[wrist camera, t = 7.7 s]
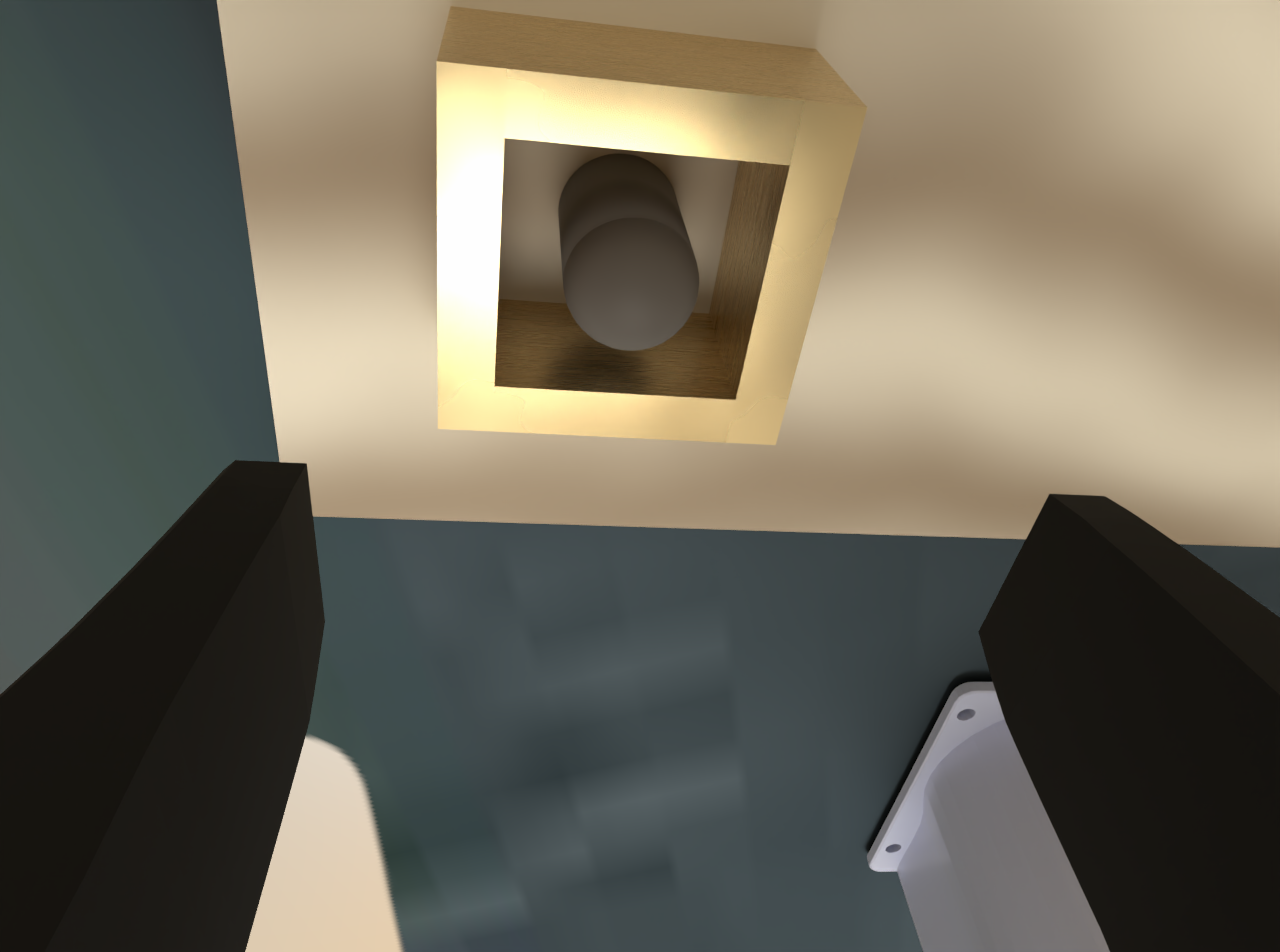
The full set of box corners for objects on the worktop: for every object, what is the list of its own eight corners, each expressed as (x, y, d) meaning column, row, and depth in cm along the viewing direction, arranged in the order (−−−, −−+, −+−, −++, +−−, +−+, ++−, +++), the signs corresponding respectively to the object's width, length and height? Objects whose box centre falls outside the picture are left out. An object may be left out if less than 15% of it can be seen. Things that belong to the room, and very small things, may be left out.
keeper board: (1431, 526, 24) (1583, 662, 21) (296, 484, 20) (248, 647, 16) (1972, -103, 16) (2388, -51, 12) (183, -417, 11) (31, -474, 8)
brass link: (745, 356, 18) (775, 445, 16) (448, 337, 17) (437, 428, 15) (816, 48, 14) (867, 107, 12) (450, 5, 14) (436, 61, 11)
